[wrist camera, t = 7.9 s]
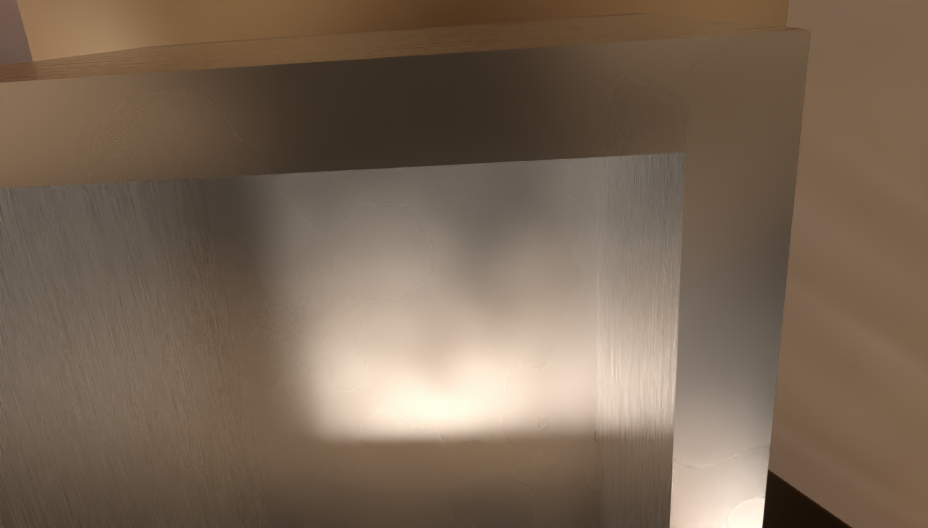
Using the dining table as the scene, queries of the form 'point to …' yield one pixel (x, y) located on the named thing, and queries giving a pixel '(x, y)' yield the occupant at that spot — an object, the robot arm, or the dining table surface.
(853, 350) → the dining table surface
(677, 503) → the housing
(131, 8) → the stand
